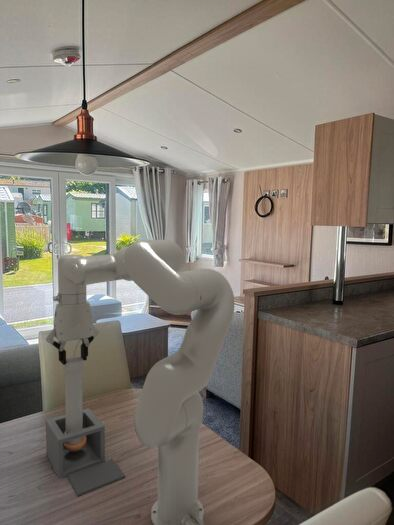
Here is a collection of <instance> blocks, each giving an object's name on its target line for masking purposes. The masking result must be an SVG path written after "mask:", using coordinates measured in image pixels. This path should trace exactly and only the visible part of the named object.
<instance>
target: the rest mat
mask: <svg viewBox="0 0 394 525" xmlns="http://www.w3.org/2000/svg"><path fill="white" fill-rule="evenodd" d="M66 477H67V478H66V479H68V481H69V483H70V486H72V488H73V491H74V492H75V494H76V495H77V497H80V496H83V495H85V494H87V493H88V494H89V493H90V492H93V491H95V490H98V489H101V488H104V487H105V486H108V485H110V484H113V483H115V482H118V481H119V480H122V479H125V478H126V474H125V473H124V472H123V471H122V470H121V468H120V467H119V465H117V463H116V462H115V461H114V459H113V458H111V459H107V460H105V462H102V463H99V464H96V465H94V466H91V467H88V468H85V469H82V470H80V471H77V472H74V473H71V474H69V475H67V476H66Z"/></svg>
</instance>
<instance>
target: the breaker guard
mask: <svg viewBox="0 0 394 525" xmlns="http://www.w3.org/2000/svg"><path fill="white" fill-rule="evenodd" d="M105 429H106V426H105V425H104V424H103V422H101V420H100V419H99V418H98V417H97V416H96V415H95V413H94V411H92V410H91V409H90V408H89V407H88V408H83V429H81V430H78V431H74V432H71V433H68V434H64V432H65V431H66V414H65V413H64V414H62V415H59V416H53V417H51V418H46V419H45V439H46V440H45V441H46V442H45V444H46V456H47V459H48V461H49V462H50V464H51V466H52V468H53V471H54V472H55V474H56V476H57V478H58V479H60V480H61V479H62V478H65V477H67V475H69V474H71V473H74V472H77V471H80V470H82V469H85V468H88V467H91V466H94V465H96V464H99V463H102V462H105V461H106V455H105V453H106V450H105V449H106V443H105V441H106V436H105V434H106V433H105ZM82 436H86V445H85V447H83V448H82V449H80V450H78V451H76V452H72V451H68V450H66V449H64V443H63V442H66V441H70V440H73V439H76V438H79V437H82Z"/></svg>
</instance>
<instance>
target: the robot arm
mask: <svg viewBox="0 0 394 525" xmlns="http://www.w3.org/2000/svg"><path fill="white" fill-rule="evenodd" d="M183 263H184V252H183V250H182V249H181V247H180V246H179V245H178V244H177V243H176V242H174V241H172V240H168V239H153V240H152V239H151V240H138V241H134V242H133V243H132V244H130V245H128V246H124V247H122V248H120V249H119V250H117V252H116V253H111V254H97V255H87V256H86V255H85V256H84V255H82V254H62V255H61V256H59V257H58V258H57V278H58V279H57V281H58V282H57V284H58V285H57V286H58V293H57V295H56V296H53V297H52V300H53V302H57V304H55V309H54V318H53V329H52V330H51V331H50V332H49V334H48V335H47V336H46V338H45V341H46V342H47V343H49V344H50V345H52V346H53V347H55V349H57V350H58V361H59V362H60V363H61V364H62V365H63V366H64V365H65V364H66V359H67V351H66V350H65V347H66V343H67V342H71V341H77V340H80V339H81V340H80V341H81V342H82V343H81V345H80V357H81V358H83V361H87V359H88V356H89V347H90V344H91V343H92V342H93V341H94V339H95V338H96V337H97V336H98V335H99V334H100V331H99V330H98V328H96V327H95V325H94V323H93V313H92V307H91V303H90V302H89V301H87V297H88V296H87V285H93V284H100V283H107V282H108V283H109V282H112V281H113V282H114V281H121V280H124V281H127V282H134V284H135V285H136V286H137V287H139V288H140V290H142V291H143V293H145V294H146V295H147V297H149V299H151V300H152V301H153V302H154V303H155V304H156V305H157V306H158V307H160V309H161V310H163V311H165V312H166V313H168V314H171V315H176V316H180V315H185V314H188V313H191V312H194V311H196V312H195V315H194V316H193V318H192V319H191V321H190V322H189V324H188V326H187V328H186V329H185V333H184V336H183V339H182V341H181V344H180V346H179V348H178V350H176V351H175V352H174V353H173V354H171V355H169V356H165V357H164V358H163V359H160V360H158V361H157V362H156V363H155V364H154V365H153V366H152V367H151V368H150V370H148V373H147V375H146V377H145V380H144V383H143V388H142V390H141V393H140V396H139V398H138V399H139V400H138V402H137V405H136V409H135V412H134V413H135V414H134V418H133V422H134V423H133V426H134V431H135V432H134V433H135V435H136V437H137V439H138V440H139V441H140V442H141V444H143V445H144V446H145V447H148V448H152V449H158V450H157V451H158V452H157V500H156V501H155V502H154V504H153V505H152V507H151V509H150V510H151V511H150V520H151V522H152V524H153V525H205V521H204V518H205V517H204V516H205V510H204V506H203V504H202V502H201V501H200V500H199V498H198V497H199V493H198V492H199V452H200V450H199V449H200V434H201V427H202V423H203V417H204V401H203V398H202V396H201V393H199V392H200V391H202V390H203V389H205V387H207V386H208V384H209V382H210V380H211V377H212V375H213V372H214V369H215V367H216V364H217V362H218V359H219V356H220V354H221V350H222V347H223V345H224V341H225V338H226V337H227V333H228V332H229V329H230V326H231V324H232V321H233V318H234V313H235V297H234V292H233V288H232V286H231V284H230V283H229V280H228V279H227V278H226V277H225V276H224V275H223V274H222V273H221V272H219V271H217V270H215V269H211V268H198V269H191V270H185V271H184V270H183V271H179V270H180V269H181V267H182V265H183ZM178 271H179V272H178ZM54 338H55V339H56V340H57V341H58V342H57V341H56V340H55V339H54Z"/></svg>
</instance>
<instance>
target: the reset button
mask: <svg viewBox="0 0 394 525" xmlns="http://www.w3.org/2000/svg"><path fill="white" fill-rule="evenodd" d="M63 443H64V449H66V450H68V451H72V452H76V451H78V450H80V449H82V448H83V447H85V445H86V436H84V438H83V440H82V441H81V442H80V443H78V444H72V445H70V444H67V443H66V442H63Z"/></svg>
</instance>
